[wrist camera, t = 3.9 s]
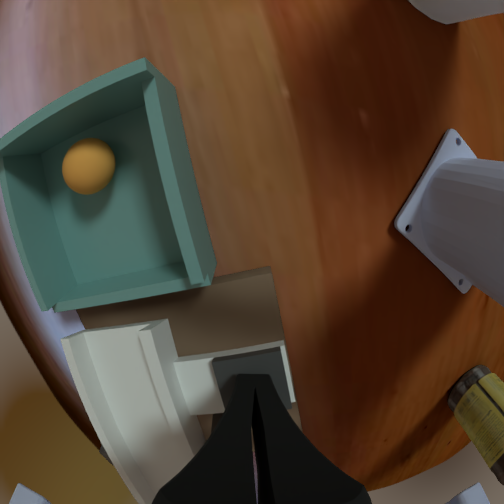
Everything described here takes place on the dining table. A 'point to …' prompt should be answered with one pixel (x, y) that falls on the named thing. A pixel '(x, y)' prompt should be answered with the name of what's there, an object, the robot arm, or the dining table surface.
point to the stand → (206, 321)
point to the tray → (159, 395)
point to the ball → (88, 166)
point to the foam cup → (458, 9)
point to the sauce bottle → (482, 414)
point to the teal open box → (107, 196)
